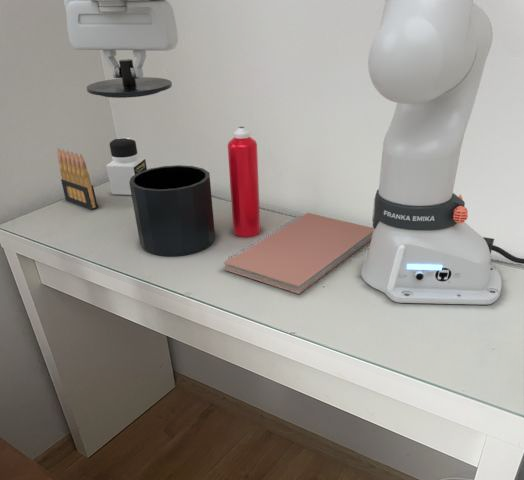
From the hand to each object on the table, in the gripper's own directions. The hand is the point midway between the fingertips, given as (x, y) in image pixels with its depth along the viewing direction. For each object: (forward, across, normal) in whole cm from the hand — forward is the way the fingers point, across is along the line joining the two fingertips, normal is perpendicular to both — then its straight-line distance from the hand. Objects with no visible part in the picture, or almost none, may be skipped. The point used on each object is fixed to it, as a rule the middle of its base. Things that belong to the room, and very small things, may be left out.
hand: (128, 77), depth 98 cm
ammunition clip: (+28, -21, +5) cm, 35 cm away
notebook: (+27, +35, -9) cm, 46 cm away
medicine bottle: (+28, -14, +16) cm, 35 cm away
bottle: (+28, +22, -2) cm, 36 cm away
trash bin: (+28, +10, -9) cm, 31 cm away
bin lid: (+2, 0, 0) cm, 2 cm away
